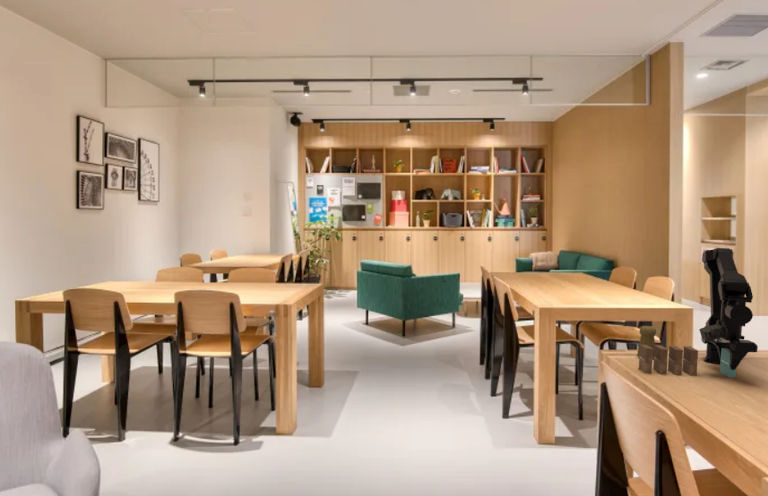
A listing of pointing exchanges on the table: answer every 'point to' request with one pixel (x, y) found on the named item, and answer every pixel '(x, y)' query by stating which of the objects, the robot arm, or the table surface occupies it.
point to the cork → (647, 338)
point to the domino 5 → (726, 364)
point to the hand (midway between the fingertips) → (728, 366)
